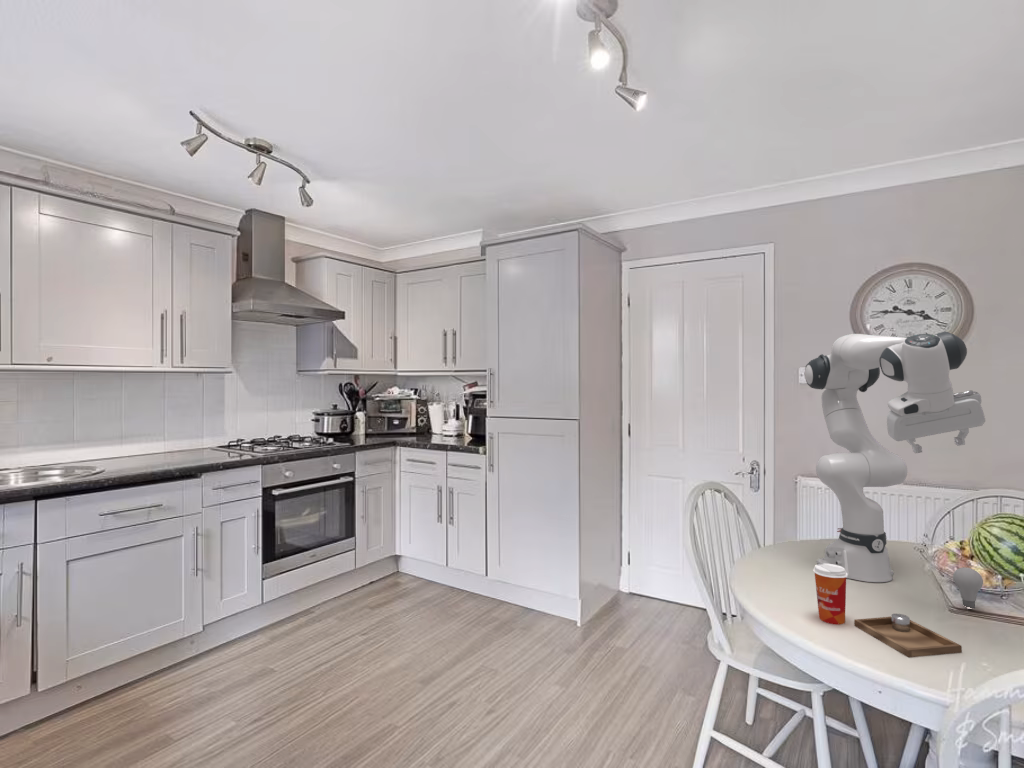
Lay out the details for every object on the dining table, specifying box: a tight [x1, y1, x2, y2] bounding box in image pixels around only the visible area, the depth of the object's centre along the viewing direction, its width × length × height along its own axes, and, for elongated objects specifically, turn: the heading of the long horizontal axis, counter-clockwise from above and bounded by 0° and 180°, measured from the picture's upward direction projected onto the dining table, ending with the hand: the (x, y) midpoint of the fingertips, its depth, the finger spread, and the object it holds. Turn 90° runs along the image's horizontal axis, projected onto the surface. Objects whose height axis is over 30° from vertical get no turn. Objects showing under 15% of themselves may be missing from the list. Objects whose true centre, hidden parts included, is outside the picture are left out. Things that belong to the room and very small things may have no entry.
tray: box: [853, 616, 963, 658], centre depth 126 cm, size 16×13×2 cm
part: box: [890, 613, 911, 632], centre depth 130 cm, size 4×4×3 cm
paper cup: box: [812, 563, 848, 626], centre depth 137 cm, size 8×8×14 cm
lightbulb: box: [952, 566, 984, 609], centre depth 142 cm, size 6×6×11 cm
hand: (938, 448), depth 136 cm, fingers open, 8 cm apart
